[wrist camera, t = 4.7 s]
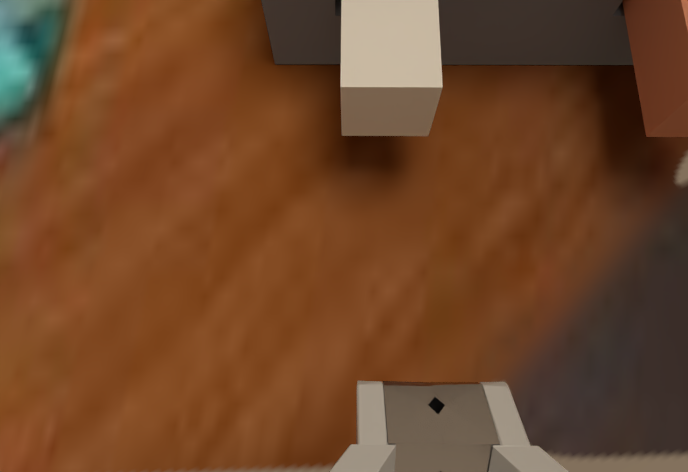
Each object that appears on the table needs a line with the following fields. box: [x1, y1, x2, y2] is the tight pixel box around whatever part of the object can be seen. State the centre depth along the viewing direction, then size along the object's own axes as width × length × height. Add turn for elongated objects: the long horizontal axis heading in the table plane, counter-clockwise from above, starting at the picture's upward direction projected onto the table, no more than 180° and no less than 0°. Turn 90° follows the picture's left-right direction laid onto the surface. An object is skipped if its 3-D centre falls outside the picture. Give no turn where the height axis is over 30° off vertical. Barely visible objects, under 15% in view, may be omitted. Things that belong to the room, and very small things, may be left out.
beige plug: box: [340, 0, 443, 136], centre depth 25 cm, size 11×4×4 cm, turn 0°
